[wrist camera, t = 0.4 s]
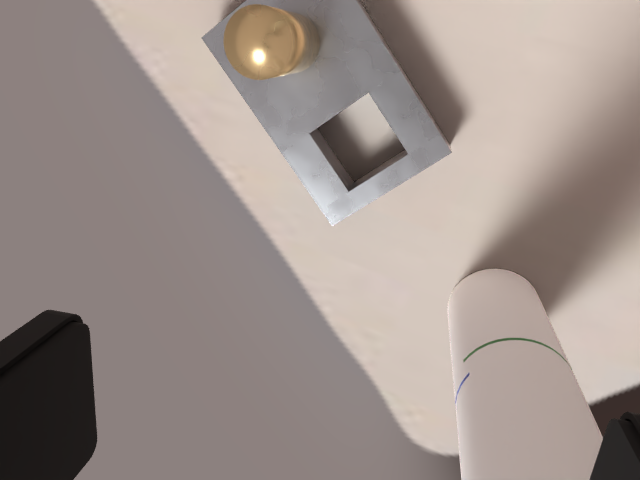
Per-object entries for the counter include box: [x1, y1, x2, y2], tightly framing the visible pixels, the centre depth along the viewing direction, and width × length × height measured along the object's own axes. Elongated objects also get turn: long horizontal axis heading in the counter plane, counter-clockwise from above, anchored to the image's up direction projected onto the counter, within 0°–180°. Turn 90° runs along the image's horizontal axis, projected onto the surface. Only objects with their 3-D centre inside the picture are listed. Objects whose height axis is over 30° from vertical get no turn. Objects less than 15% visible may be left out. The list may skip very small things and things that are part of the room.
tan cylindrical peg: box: [224, 4, 320, 80], centre depth 33 cm, size 4×4×8 cm
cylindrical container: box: [447, 269, 603, 480], centre depth 32 cm, size 7×7×25 cm
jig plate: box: [202, 0, 452, 226], centre depth 38 cm, size 16×10×3 cm, turn 35°
